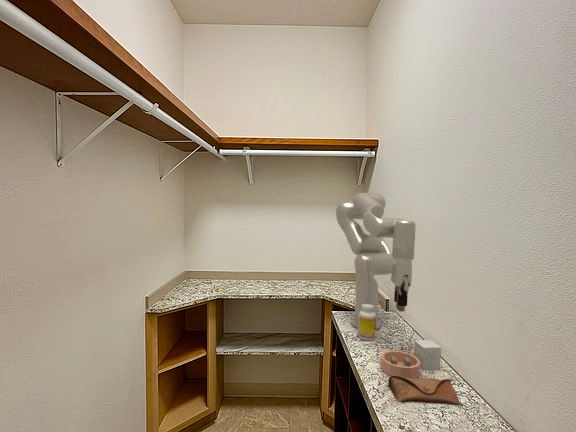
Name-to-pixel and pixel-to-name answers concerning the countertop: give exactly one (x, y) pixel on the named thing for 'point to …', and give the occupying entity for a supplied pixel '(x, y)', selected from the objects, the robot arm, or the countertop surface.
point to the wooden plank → (399, 308)
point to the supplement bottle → (367, 323)
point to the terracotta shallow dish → (400, 364)
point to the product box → (427, 354)
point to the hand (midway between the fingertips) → (400, 303)
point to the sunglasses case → (423, 390)
